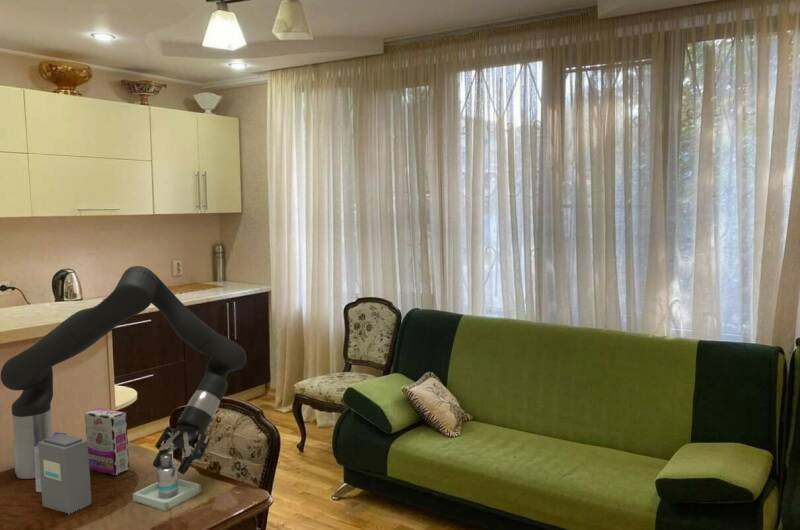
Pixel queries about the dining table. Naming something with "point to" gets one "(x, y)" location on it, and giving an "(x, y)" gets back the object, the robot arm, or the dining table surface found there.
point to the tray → (151, 498)
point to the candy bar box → (107, 441)
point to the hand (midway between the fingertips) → (168, 470)
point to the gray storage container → (64, 473)
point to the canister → (167, 477)
